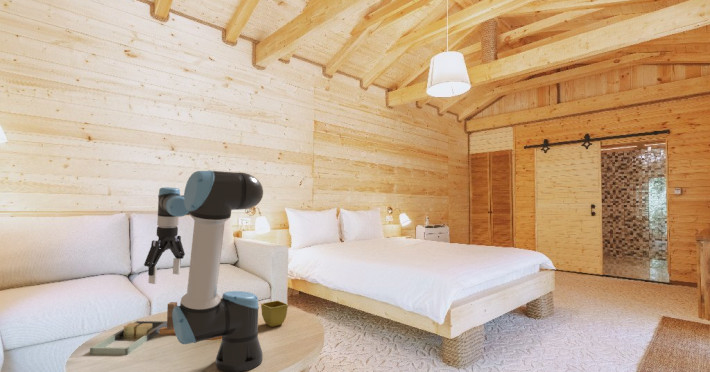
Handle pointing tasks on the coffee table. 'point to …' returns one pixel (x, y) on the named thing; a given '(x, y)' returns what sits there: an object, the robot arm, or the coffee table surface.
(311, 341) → the coffee table surface
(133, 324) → the tan cube
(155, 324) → the dark grey shallow tray
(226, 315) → the robot arm
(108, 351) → the tray
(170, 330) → the bent wooden stick
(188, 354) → the coffee table surface
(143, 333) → the light brown cube
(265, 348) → the coffee table surface
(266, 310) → the flower pot
